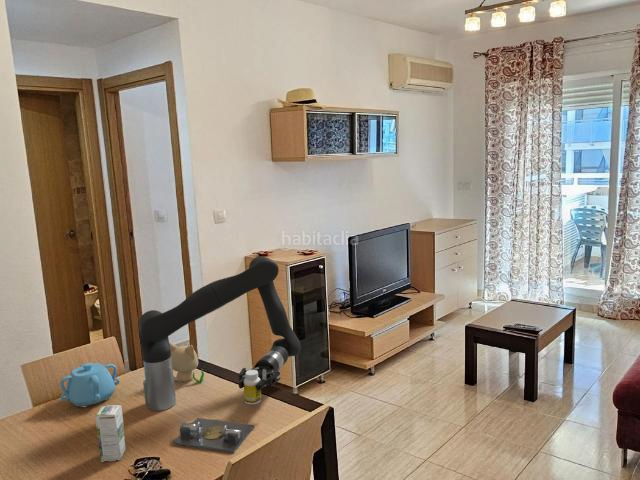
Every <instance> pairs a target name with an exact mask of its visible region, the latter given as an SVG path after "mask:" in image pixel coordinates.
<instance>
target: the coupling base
mask: <svg viewBox="0 0 640 480" xmlns="http://www.w3.org/2000/svg"><path fill="white" fill-rule="evenodd" d="M254 428H255V425H254V424H252V423H251V424H250V423H241V422H234V421H225V420H218V419H210V418H209V419H208V418H202V417H201V418H200V417H196V419H195V420H193V422H192V423H191V422H190V423H189V422H181V424H180V426H179V435H178V436H177V437H176V438H175V439H174V440H173V441H172V444H173V446H179V447H187V448H194V449H201V450H208V451H215V452H219V453H220V452H222V453H227V454H235V452H236V451H237V450H238V449H239V448H240V446H241V445H242V444H243V443H244V442H245V440H246V439H247V438H248V436H250V434H251V432H252V431H253V430H254Z"/></svg>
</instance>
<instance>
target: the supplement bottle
mask: <svg viewBox="0 0 640 480" xmlns="http://www.w3.org/2000/svg"><path fill="white" fill-rule="evenodd" d="M248 370H249V371H247V372H246V373H245V374H246V378H245V379H244V387H243V395H244V396H243V398H244V402H245V404H247V405H258V404H259V403H261V401H262V389H260V390H259V391H257V389H256V385H257V383H258V382H259V381H260V378H259V377H258V371H256V370H251V369H248Z"/></svg>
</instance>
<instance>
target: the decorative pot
mask: <svg viewBox="0 0 640 480" xmlns="http://www.w3.org/2000/svg"><path fill="white" fill-rule="evenodd" d="M108 368H112V369H113V374H112V375H111V373H110V372H109V370H108ZM117 372H118V369H117V366H116V365H115V364H113V363H107V364H105V365H103V364H102V363H100V362H94V363H92V362H85V363H83V364H81V365H80V366H79V367H76V368H74V369H72V371H71V373H70V374H69V375H66V376H64V377H63V378H61V380H60V381H59V386H60V388H61V390H62V392H63V393H62V394H61V395H60V400H61V401H63V402H67V401H70V402H71V403H72V404H73V405H74V406H76V407H81V406H87V405H89V406H90V405H94V404H97V403H101V402H104V401H103V400H106V399H108V400H109V398H110V397H112V396H113V394H114V393H115V390H116V386H118V385H119V384H120V379H119V377H117ZM65 381H67V383H66V384H67V385H66V387H65V386H64V383H65ZM64 396H65V397H64ZM106 401H107V400H106Z"/></svg>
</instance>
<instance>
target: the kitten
mask: <svg viewBox="0 0 640 480" xmlns="http://www.w3.org/2000/svg"><path fill="white" fill-rule="evenodd" d="M169 344H170V349H171V359H172V368H173V371H175V372H177V373H176V376H174V375H173V377H174V382H182V383H186V382H190V381H192V380H194V381H195V382H196V384H202V383H203V382H204V376H205V372H204V370H203V369H200V371H201V376H200V378H199V379H198V378H196V377H195V371H194V370H196V369H197V367H198V365H199V358H198V354H197V352H196V351H195V349H194V346H193V345H192V344H190V345H180V346H177V345H175V344H174V343H170V342H169Z"/></svg>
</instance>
